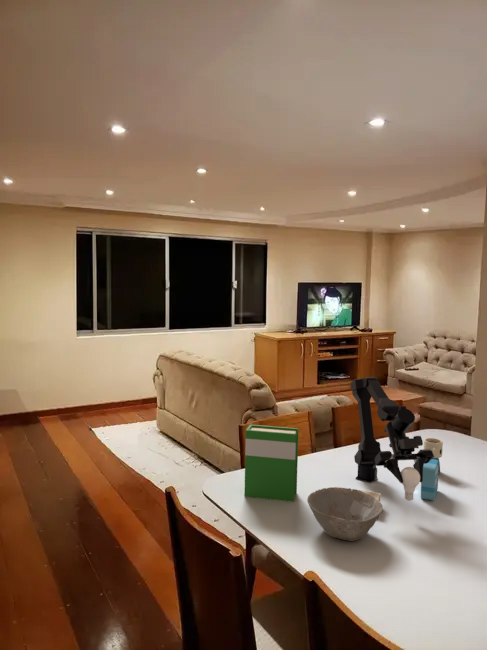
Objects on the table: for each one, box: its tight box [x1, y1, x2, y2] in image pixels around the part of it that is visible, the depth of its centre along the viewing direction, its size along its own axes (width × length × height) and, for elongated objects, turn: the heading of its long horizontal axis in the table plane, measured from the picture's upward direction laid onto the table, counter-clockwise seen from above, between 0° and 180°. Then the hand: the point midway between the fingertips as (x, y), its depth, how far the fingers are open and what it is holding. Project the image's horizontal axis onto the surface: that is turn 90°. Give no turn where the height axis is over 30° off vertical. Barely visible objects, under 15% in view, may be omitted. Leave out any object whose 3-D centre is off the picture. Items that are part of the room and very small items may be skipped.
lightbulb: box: [400, 466, 421, 502], centre depth 167 cm, size 6×6×11 cm
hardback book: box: [243, 424, 299, 503], centre depth 183 cm, size 18×7×24 cm, turn 77°
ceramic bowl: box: [306, 486, 384, 542], centre depth 156 cm, size 22×23×10 cm
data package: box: [420, 459, 440, 502], centre depth 186 cm, size 12×4×12 cm, turn 153°
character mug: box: [423, 437, 444, 474], centre depth 208 cm, size 11×7×13 cm, turn 165°
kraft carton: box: [359, 489, 381, 503], centre depth 173 cm, size 7×7×5 cm
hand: (411, 482), depth 165 cm, fingers closed on lightbulb, 6 cm apart
